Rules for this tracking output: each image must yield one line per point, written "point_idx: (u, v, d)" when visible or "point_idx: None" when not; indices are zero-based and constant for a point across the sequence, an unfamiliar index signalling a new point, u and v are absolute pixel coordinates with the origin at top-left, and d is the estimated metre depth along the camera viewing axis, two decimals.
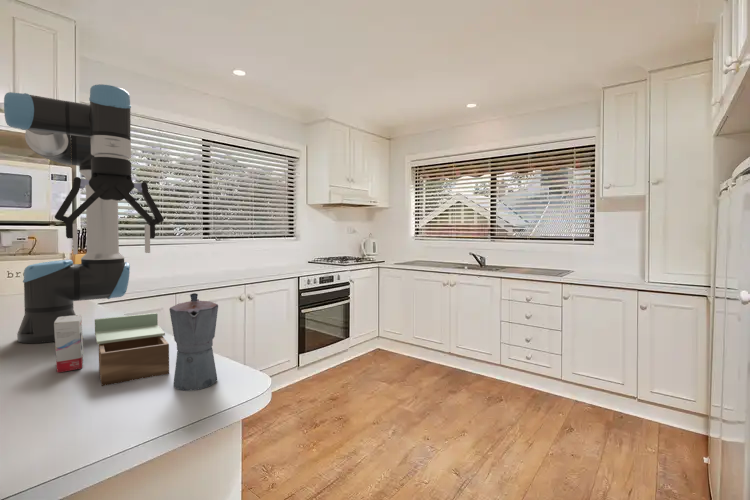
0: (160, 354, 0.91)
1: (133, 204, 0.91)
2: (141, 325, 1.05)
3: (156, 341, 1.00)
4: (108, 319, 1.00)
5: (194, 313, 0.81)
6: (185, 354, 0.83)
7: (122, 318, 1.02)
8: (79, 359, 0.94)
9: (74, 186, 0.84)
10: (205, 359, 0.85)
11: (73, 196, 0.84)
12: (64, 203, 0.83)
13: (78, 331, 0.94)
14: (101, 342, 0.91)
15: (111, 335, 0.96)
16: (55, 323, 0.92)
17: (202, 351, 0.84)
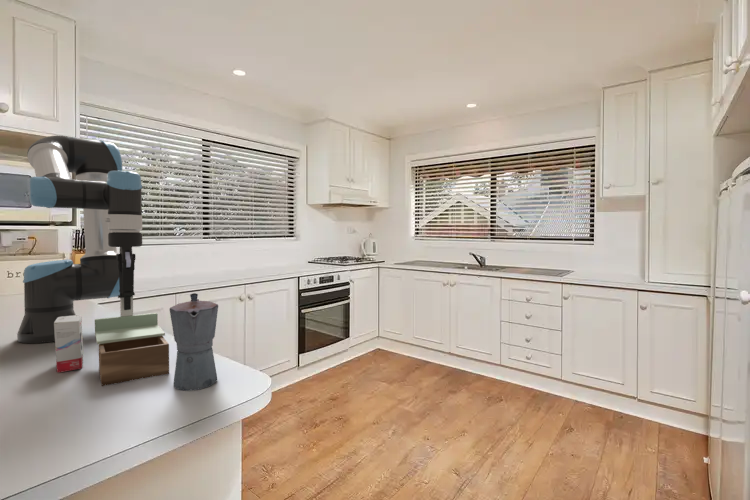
0: (160, 354, 0.91)
1: (121, 274, 1.02)
2: (141, 325, 1.05)
3: (156, 341, 1.00)
4: (108, 319, 1.00)
5: (194, 313, 0.81)
6: (185, 354, 0.83)
7: (122, 318, 1.02)
8: (79, 359, 0.94)
9: None
10: (205, 359, 0.85)
11: (119, 271, 1.06)
12: (119, 279, 1.06)
13: (78, 331, 0.94)
14: (101, 342, 0.91)
15: (111, 335, 0.96)
16: (55, 323, 0.92)
17: (202, 351, 0.84)
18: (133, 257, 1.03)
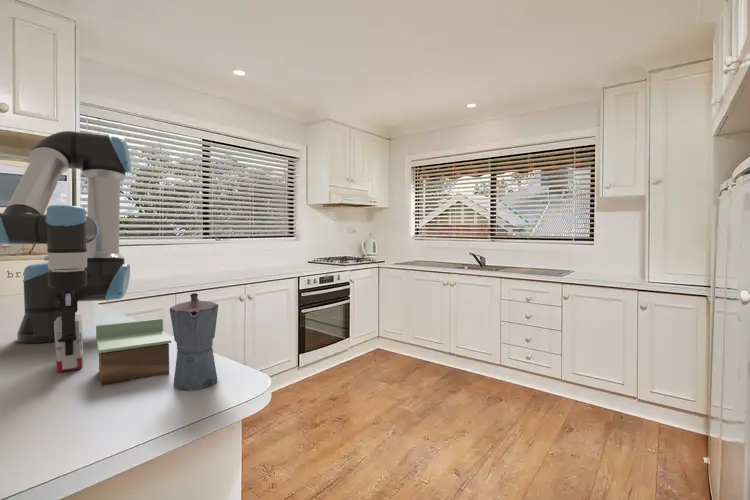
0: (160, 354, 0.91)
1: None
2: (145, 331, 0.98)
3: None
4: (110, 325, 0.94)
5: (194, 313, 0.81)
6: (185, 354, 0.83)
7: (125, 324, 0.96)
8: (79, 359, 0.94)
9: None
10: (205, 359, 0.85)
11: None
12: None
13: (78, 331, 0.94)
14: (103, 351, 0.84)
15: (114, 343, 0.89)
16: (55, 323, 0.92)
17: (202, 351, 0.84)
18: (76, 297, 0.95)
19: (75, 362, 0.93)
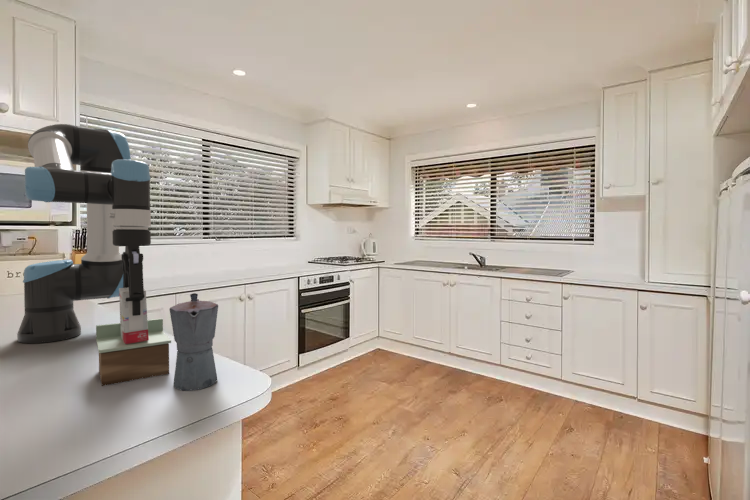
0: (160, 354, 0.91)
1: (128, 275, 0.89)
2: None
3: None
4: (110, 325, 0.94)
5: (194, 313, 0.81)
6: (185, 354, 0.83)
7: None
8: (146, 330, 0.90)
9: None
10: (205, 359, 0.85)
11: None
12: (123, 276, 0.97)
13: (145, 301, 0.90)
14: (103, 351, 0.84)
15: (114, 343, 0.89)
16: (123, 292, 0.88)
17: (202, 351, 0.84)
18: None
19: (142, 323, 0.89)
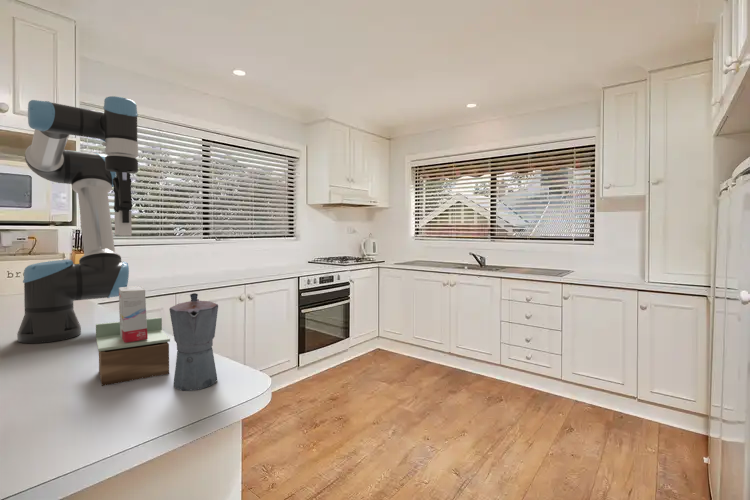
0: (160, 354, 0.91)
1: (118, 193, 1.04)
2: None
3: None
4: (110, 324, 0.95)
5: (194, 313, 0.81)
6: (185, 354, 0.83)
7: None
8: (145, 329, 0.91)
9: None
10: (205, 359, 0.85)
11: None
12: (114, 197, 1.14)
13: (144, 300, 0.91)
14: (103, 349, 0.86)
15: (113, 341, 0.90)
16: (122, 292, 0.89)
17: (202, 351, 0.84)
18: None
19: (130, 231, 1.04)
